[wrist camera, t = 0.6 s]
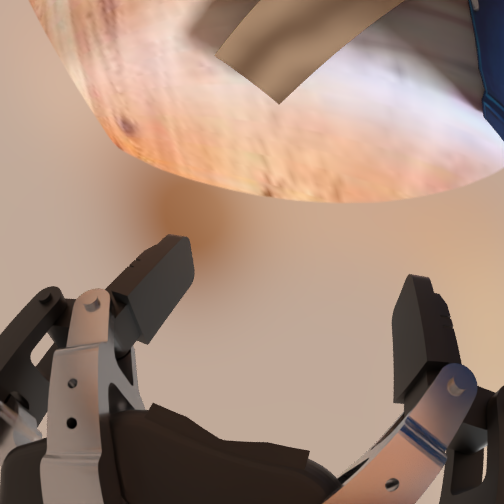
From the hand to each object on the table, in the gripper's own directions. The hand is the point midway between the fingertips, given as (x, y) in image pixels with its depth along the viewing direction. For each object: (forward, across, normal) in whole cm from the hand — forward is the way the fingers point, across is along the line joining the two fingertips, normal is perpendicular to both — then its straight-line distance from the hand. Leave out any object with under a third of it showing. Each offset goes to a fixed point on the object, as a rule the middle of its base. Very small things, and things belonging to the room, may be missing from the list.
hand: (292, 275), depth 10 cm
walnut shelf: (+25, +1, -17) cm, 30 cm away
